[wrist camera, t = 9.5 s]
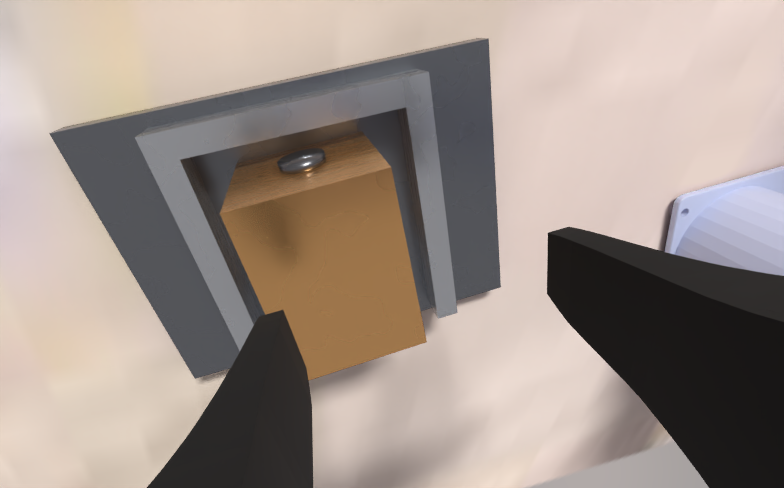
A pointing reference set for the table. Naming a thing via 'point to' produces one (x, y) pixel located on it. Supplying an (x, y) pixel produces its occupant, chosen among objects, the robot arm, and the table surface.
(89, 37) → the table surface
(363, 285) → the block
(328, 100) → the plate
